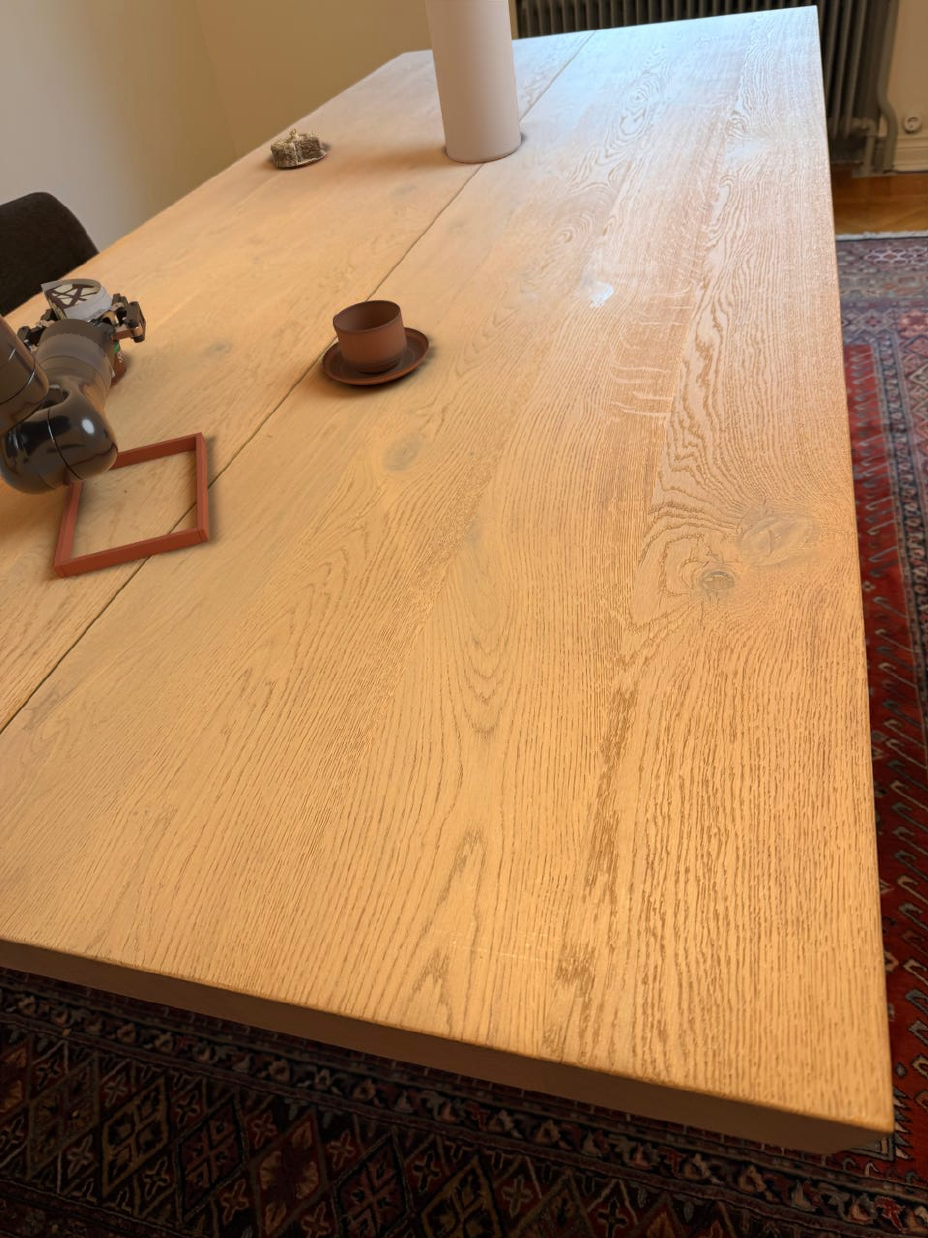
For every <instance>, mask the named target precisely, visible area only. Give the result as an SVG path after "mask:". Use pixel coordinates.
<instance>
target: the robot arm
mask: <svg viewBox="0 0 928 1238" xmlns="http://www.w3.org/2000/svg"><path fill="white" fill-rule="evenodd" d="M111 305H112V306H111V307H110V308H108V309H99V310H98V311H97V312H95V313H94V314H93V315H91V316H90V317H89V318H83V319H82V320H80V319H62V320H58V317H57V315H56V313H55V311H54V309H53V308H50V307H49V308H47V309H45V312H44V313H43V314H42V315H40V319H39V320H38V321H36V322H34V325H35V327H32V328H31V327H30V326H29V325H23V326H20V328H18V330H17V332H15V331H14V329H13V328H12V327H11V326H10V324H9V322H7V321H6V319H5V318H4V317H3V316H2V314H1V313H0V477H1V478H2V480H3V481H4V482H5V483H6V484H7V485H8V486H9V487H11V489H13V490H15V491H17V492H20V493H22V494H25V495H28V496H40V495H45V494H48V493H51V492H54V491H58V490H59V489H60V490H61V489H62V488H65V487H66V488H67V487H68V486H69V485H72V484H75V483H78V482H81V481H82V482H83V481H86V480H90V479H93V478H95V477H98V476H101V475H102V474H104V473H106V472H107V470H108V471H110V470H109V469H110V468H111V466H112V465H113V464H114V463H115V461H116V459H117V456H118V452H119V443H118V440H117V436H116V434H115V432H114V429H113V427H112V425H111V423H110V422H109V420H108V418H107V416H106V413H105V407H106V400H107V398H108V396H109V393H110V389H111V386H112V384H111V378H112V376H113V365H114V348H115V347H116V346H117V345H118V344H119V343H120V342H121V340H125V339H129V338H130V340H133V342H134V343H135V344H140V343H143V342H144V341H145V340H146V329H147V328H146V327H147V321H146V319H145V316H144V313H143V311H142V308H141V306H140V303H139V301H137V300H133V301H130V302H129V301H128V298H127V296H125V295H121V293H120V292H117V293H113V294H112V304H111ZM101 320H102V321H103V322H101Z"/></svg>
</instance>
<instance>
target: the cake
mask: <svg viewBox="0 0 928 1238" xmlns="http://www.w3.org/2000/svg"><path fill="white" fill-rule="evenodd" d="M323 148H324V147H323V145H322V140H321V138H320V137H319V134H317V133H316V132H313V131H311V132H310V131H308V132H307V131H304V132H297V129H296V128H293V129H292V130H290V131H289V135H288V136H286V137H282V138H279V139H277V140H275V141H274V143H273V144H271V145H270V151H271V154H272V155H273V163H272V166H274V167H277V168H291V167H295V166H301V165H302V166H303V165H305V164H309V163H313V162H314V161H317V160H320V159H321V158H323V157H325V156H327V153H328V152H327V151H325V150H324V149H323ZM312 158H317V159H315V160H313V161H310V162H307V163H303V164H299V163H298V162H301V161H303V160H305V159H312Z"/></svg>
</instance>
